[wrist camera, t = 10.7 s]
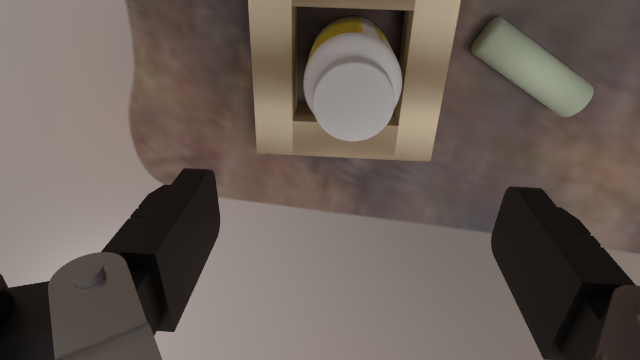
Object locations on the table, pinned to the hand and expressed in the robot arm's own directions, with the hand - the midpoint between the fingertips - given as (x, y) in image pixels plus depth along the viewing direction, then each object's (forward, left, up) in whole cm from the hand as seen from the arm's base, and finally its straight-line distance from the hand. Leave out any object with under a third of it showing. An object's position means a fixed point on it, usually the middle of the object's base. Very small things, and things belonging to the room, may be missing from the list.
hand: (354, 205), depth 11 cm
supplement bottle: (0, 0, -19) cm, 19 cm away
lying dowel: (+1, +11, -17) cm, 21 cm away
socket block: (0, 0, -19) cm, 19 cm away
